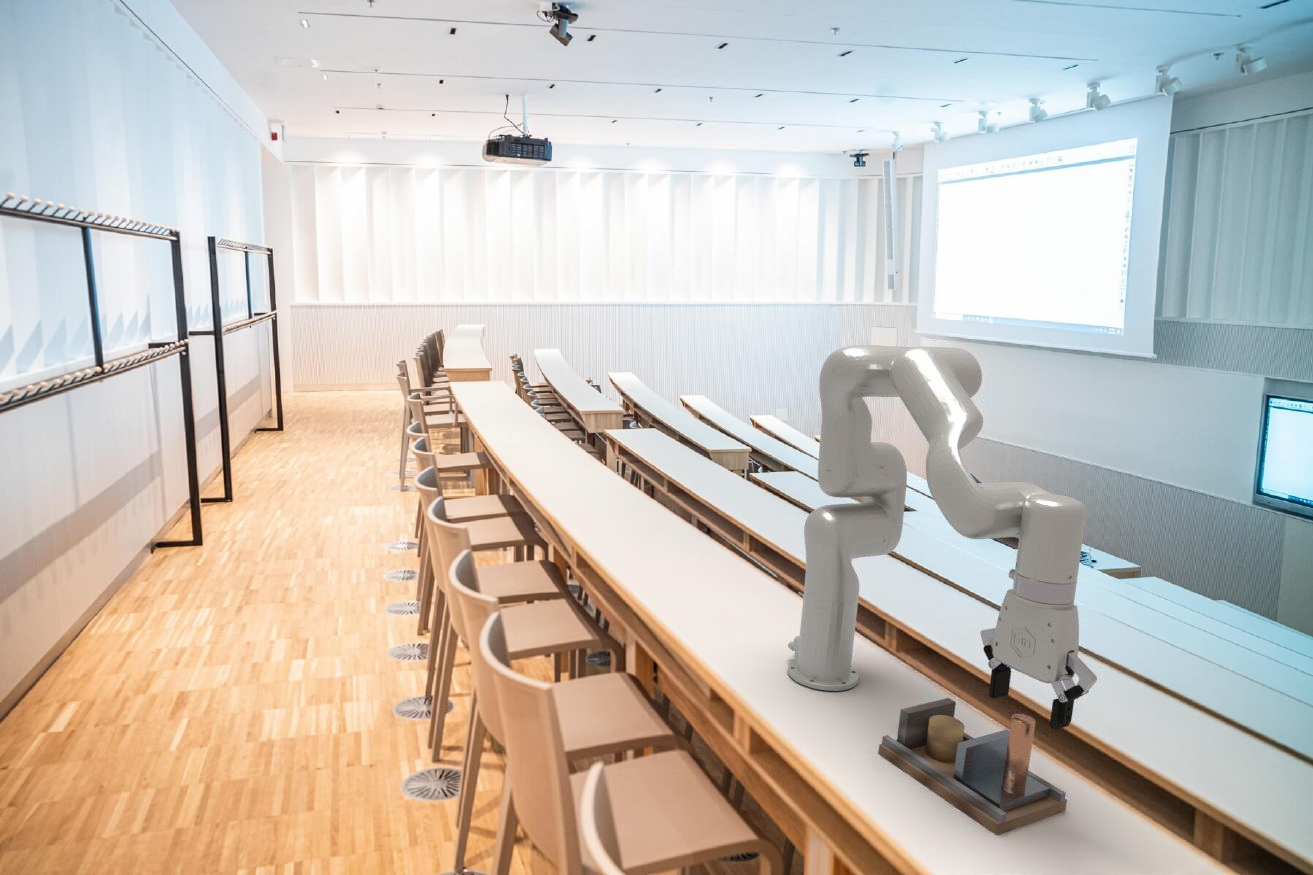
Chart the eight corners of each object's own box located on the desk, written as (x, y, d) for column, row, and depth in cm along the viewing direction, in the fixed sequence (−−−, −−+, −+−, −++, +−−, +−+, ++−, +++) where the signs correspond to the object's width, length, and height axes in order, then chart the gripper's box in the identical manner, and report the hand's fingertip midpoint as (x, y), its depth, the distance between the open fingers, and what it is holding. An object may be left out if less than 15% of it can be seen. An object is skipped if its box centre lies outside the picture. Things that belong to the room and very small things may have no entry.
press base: (878, 753, 138) (883, 707, 136) (944, 735, 145) (950, 691, 143) (996, 834, 119) (1003, 782, 118) (1065, 809, 126) (1073, 759, 125)
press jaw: (952, 782, 128) (963, 705, 126) (1001, 767, 133) (1012, 693, 131) (998, 813, 121) (1010, 732, 119) (1048, 796, 126) (1060, 718, 124)
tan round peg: (918, 749, 137) (922, 718, 136) (941, 742, 139) (946, 712, 138) (943, 765, 132) (947, 733, 132) (967, 758, 135) (971, 727, 134)
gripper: (971, 572, 125) (958, 689, 128) (1084, 614, 110) (1066, 746, 113) (1009, 566, 129) (994, 681, 132) (1122, 606, 114) (1104, 734, 117)
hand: (1027, 711), depth 122 cm, fingers open, 9 cm apart
